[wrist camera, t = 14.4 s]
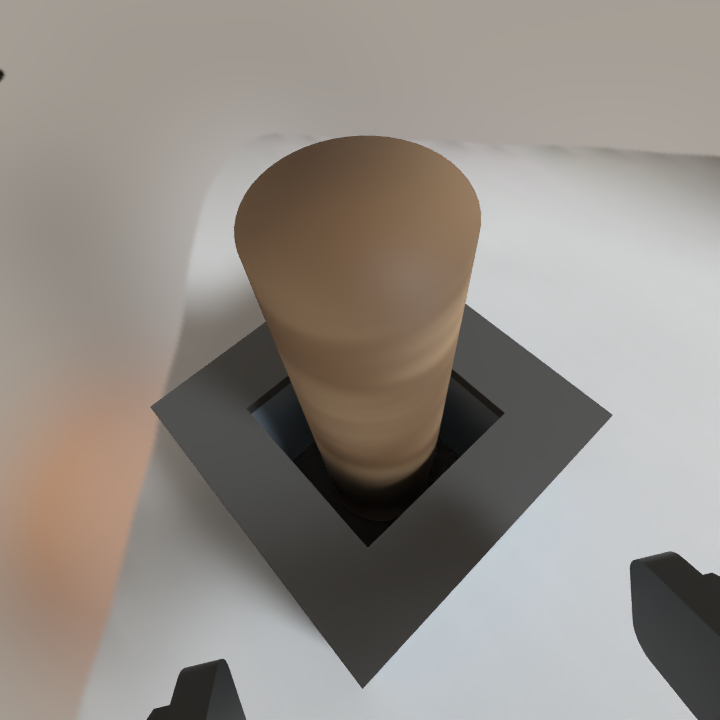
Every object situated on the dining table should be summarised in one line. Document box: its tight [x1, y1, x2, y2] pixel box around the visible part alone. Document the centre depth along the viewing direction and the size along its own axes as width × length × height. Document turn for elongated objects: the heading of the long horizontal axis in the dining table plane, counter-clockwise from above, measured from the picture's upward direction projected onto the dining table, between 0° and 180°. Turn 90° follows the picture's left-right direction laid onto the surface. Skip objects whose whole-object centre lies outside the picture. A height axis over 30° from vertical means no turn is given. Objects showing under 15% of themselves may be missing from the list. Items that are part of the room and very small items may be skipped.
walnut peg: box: [234, 136, 481, 521], centre depth 14 cm, size 4×4×14 cm
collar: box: [151, 304, 612, 689], centre depth 17 cm, size 10×10×6 cm
